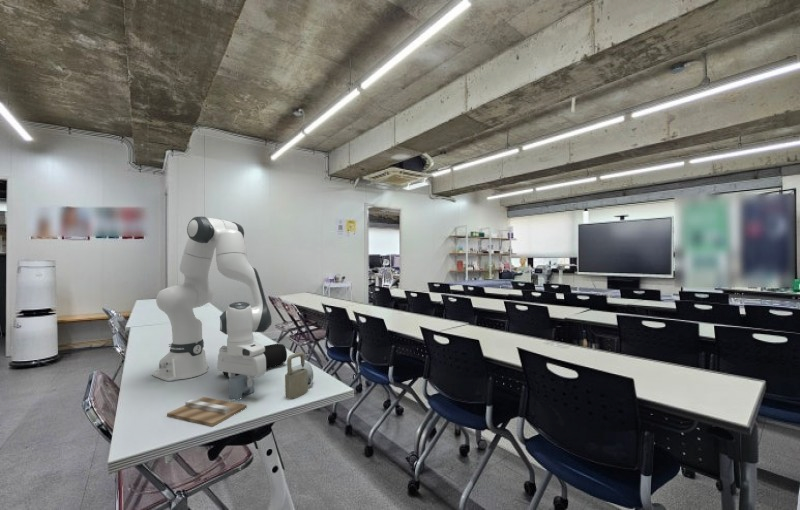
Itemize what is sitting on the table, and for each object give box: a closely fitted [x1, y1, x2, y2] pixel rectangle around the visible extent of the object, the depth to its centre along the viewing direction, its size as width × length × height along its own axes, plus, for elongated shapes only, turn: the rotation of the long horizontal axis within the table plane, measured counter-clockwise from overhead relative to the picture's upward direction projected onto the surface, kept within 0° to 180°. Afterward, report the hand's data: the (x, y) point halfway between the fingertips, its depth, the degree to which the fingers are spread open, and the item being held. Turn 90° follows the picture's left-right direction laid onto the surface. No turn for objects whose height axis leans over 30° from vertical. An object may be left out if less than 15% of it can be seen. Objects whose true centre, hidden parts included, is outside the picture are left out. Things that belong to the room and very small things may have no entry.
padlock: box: [284, 351, 309, 400], centre depth 125 cm, size 4×8×15 cm, turn 146°
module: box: [228, 374, 255, 401], centre depth 126 cm, size 4×8×7 cm, turn 158°
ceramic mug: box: [286, 361, 314, 389], centre depth 134 cm, size 11×8×8 cm
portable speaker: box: [222, 343, 288, 377], centre depth 153 cm, size 26×10×10 cm, turn 132°
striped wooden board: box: [166, 396, 248, 428], centre depth 113 cm, size 20×13×2 cm, turn 68°
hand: (241, 385), depth 126 cm, fingers open, 5 cm apart
